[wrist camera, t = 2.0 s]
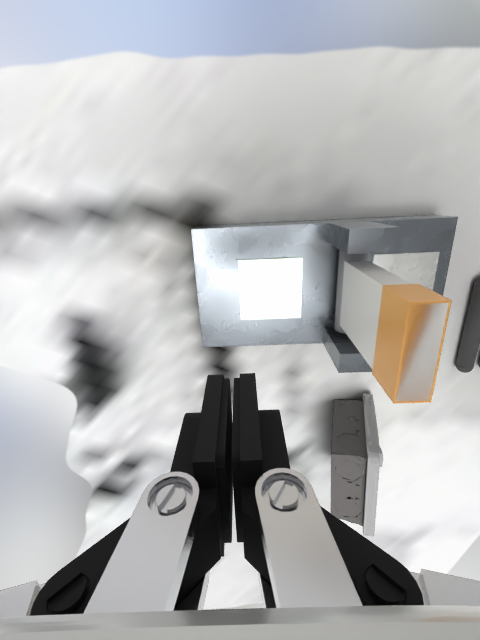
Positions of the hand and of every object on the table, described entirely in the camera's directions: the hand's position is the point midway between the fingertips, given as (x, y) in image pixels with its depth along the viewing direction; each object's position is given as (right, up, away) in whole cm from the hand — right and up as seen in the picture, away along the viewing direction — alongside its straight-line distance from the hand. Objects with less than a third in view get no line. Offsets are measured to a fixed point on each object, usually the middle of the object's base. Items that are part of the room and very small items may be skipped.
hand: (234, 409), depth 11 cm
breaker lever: (+9, +5, +13) cm, 17 cm away
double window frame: (+7, +7, +17) cm, 20 cm away
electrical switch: (+12, -9, +23) cm, 28 cm away
